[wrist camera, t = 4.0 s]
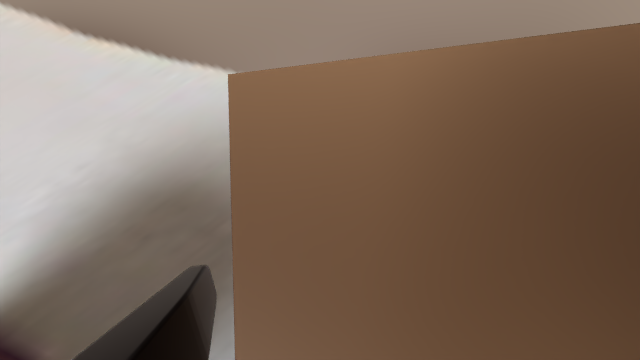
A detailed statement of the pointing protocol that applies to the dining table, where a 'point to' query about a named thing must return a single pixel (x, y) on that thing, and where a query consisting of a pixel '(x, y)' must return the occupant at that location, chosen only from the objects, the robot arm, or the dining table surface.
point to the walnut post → (441, 203)
